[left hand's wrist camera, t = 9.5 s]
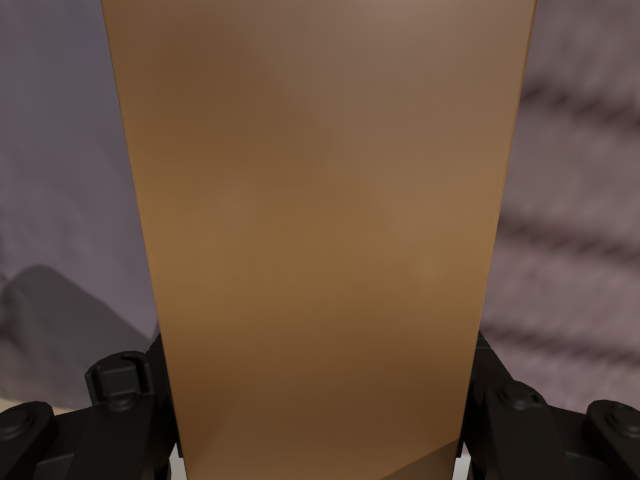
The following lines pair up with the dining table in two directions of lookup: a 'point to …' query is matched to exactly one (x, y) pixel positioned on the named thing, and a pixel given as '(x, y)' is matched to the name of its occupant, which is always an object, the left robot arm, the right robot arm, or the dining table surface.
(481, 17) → the post
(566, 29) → the dining table surface
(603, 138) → the dining table surface
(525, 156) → the dining table surface
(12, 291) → the dining table surface
